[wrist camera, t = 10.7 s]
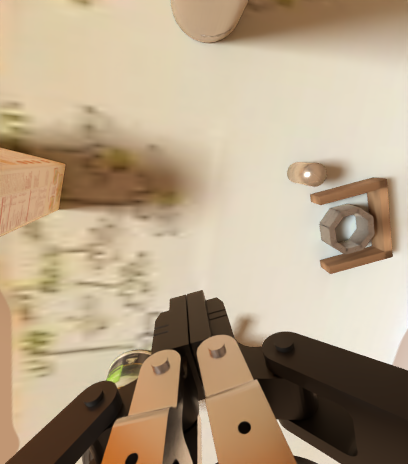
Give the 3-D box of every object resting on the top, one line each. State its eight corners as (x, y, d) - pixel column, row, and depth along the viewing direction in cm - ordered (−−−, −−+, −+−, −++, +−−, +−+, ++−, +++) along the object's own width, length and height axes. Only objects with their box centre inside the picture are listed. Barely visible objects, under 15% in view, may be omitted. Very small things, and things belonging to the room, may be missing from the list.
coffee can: (95, 381, 49) (65, 467, 36) (131, 339, 48) (113, 411, 34) (145, 409, 51) (133, 499, 38) (180, 369, 50) (182, 448, 36)
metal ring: (317, 211, 45) (327, 215, 42) (359, 200, 45) (372, 203, 42) (323, 251, 47) (332, 257, 44) (363, 241, 47) (375, 246, 44)
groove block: (310, 194, 44) (319, 197, 41) (373, 177, 44) (386, 179, 41) (321, 266, 47) (330, 273, 45) (379, 250, 48) (392, 256, 45)
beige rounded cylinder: (285, 165, 43) (302, 166, 37) (304, 160, 43) (325, 160, 37) (288, 184, 43) (306, 189, 38) (307, 179, 44) (327, 183, 38)
